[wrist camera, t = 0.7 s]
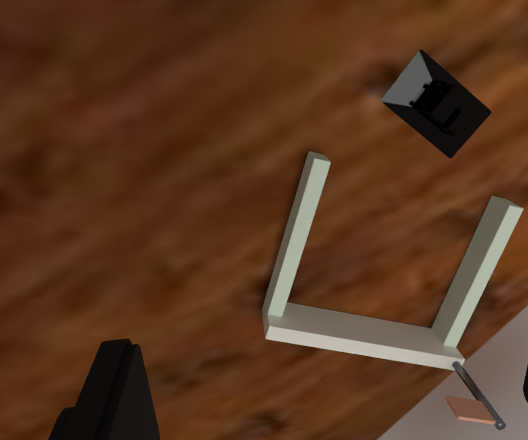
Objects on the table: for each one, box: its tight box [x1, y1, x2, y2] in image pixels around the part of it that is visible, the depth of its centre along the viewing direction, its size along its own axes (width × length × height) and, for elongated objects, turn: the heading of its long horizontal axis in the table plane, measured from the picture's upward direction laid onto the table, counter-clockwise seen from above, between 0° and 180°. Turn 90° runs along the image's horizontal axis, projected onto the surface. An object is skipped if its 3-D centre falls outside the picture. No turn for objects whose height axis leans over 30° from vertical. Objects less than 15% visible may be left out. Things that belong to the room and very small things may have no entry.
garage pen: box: [262, 151, 523, 430], centre depth 39 cm, size 18×21×13 cm
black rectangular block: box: [382, 50, 491, 158], centre depth 39 cm, size 12×7×5 cm, turn 54°
